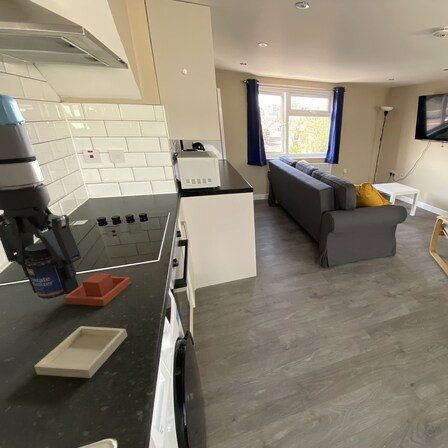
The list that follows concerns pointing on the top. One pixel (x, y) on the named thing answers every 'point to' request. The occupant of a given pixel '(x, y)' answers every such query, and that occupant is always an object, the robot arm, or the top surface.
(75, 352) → the cream tray
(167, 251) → the top surface
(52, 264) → the pill bottle
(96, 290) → the block
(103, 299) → the terracotta tray
